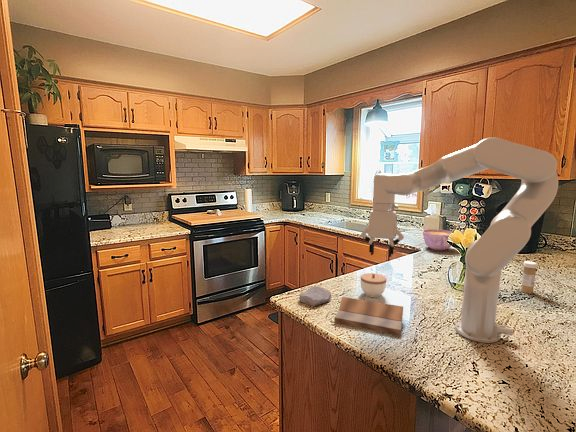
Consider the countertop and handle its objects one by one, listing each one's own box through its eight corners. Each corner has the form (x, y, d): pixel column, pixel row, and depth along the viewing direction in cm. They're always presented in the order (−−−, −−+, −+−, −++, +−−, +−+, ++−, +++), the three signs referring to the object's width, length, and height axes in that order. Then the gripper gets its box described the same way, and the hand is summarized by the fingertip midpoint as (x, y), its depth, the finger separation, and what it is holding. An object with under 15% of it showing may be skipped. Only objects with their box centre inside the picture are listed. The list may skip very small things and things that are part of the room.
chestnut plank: (403, 310, 111) (403, 306, 110) (401, 324, 107) (401, 321, 106) (342, 300, 120) (342, 296, 119) (339, 313, 116) (338, 309, 114)
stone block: (332, 302, 130) (313, 292, 136) (334, 292, 128) (315, 282, 134) (316, 313, 121) (296, 302, 127) (318, 303, 119) (298, 291, 125)
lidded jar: (387, 300, 127) (388, 278, 125) (360, 298, 129) (361, 277, 128) (384, 290, 137) (385, 270, 136) (359, 288, 139) (360, 268, 138)
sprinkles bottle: (527, 289, 138) (531, 260, 136) (536, 294, 133) (540, 263, 131) (517, 290, 138) (521, 260, 136) (525, 294, 133) (529, 264, 131)
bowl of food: (452, 254, 194) (454, 236, 192) (418, 250, 205) (419, 233, 203) (455, 247, 210) (457, 231, 209) (424, 244, 221) (425, 228, 219)
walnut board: (401, 327, 106) (401, 321, 105) (400, 335, 100) (400, 330, 100) (338, 315, 114) (338, 310, 114) (334, 322, 109) (334, 317, 108)
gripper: (408, 207, 114) (405, 255, 117) (361, 205, 120) (359, 250, 123) (408, 210, 107) (405, 260, 110) (357, 207, 114) (356, 255, 116)
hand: (381, 254), depth 116 cm, fingers open, 5 cm apart
